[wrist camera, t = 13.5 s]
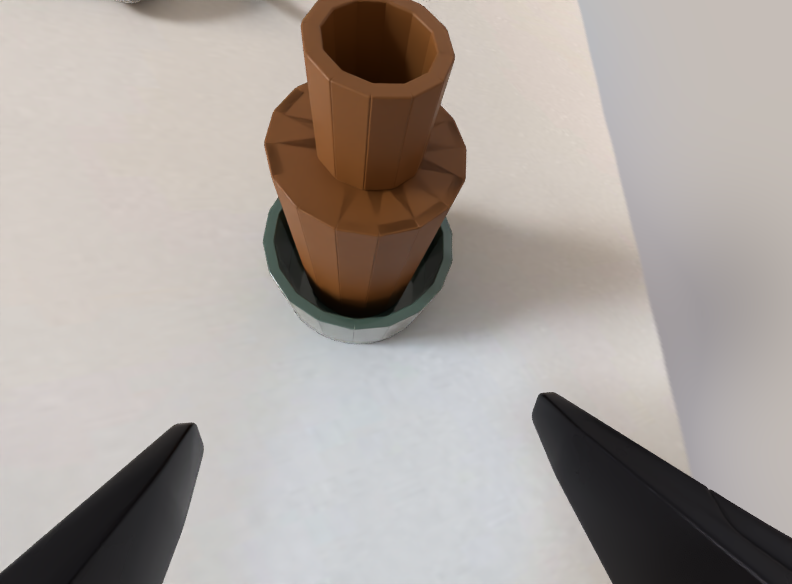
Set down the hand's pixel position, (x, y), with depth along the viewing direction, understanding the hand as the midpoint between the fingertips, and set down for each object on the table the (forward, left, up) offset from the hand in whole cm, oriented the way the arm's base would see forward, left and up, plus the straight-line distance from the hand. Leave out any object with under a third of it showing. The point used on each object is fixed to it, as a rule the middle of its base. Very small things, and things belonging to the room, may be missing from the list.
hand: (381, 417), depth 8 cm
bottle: (+3, -7, -9) cm, 12 cm away
